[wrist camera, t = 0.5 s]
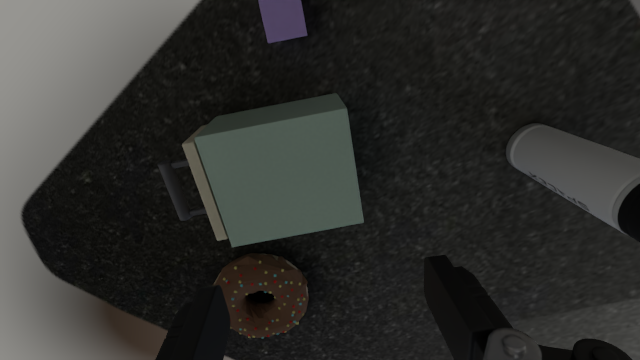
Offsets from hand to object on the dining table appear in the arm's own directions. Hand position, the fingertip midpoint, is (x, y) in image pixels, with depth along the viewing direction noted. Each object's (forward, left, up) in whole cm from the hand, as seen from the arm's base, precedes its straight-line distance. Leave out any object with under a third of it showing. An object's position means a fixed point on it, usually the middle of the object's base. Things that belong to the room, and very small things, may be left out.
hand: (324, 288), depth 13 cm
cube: (-11, 0, -30) cm, 32 cm away
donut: (+23, -11, -30) cm, 39 cm away
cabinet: (+4, -3, -30) cm, 30 cm away
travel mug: (+9, +28, -30) cm, 42 cm away
